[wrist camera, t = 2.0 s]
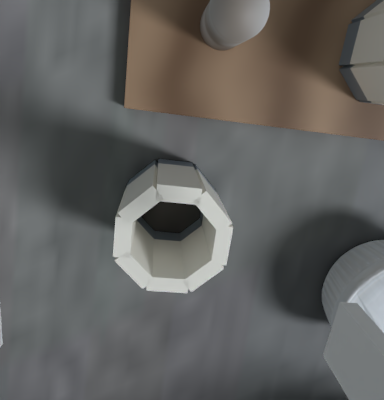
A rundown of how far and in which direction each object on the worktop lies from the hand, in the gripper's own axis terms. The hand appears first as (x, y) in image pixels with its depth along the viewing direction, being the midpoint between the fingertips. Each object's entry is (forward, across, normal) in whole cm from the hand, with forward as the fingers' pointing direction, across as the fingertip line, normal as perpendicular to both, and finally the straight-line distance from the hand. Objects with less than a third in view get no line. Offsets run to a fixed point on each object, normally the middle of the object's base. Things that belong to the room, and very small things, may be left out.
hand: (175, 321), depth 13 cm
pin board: (+15, -8, -13) cm, 21 cm away
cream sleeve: (+15, 0, 0) cm, 15 cm away
